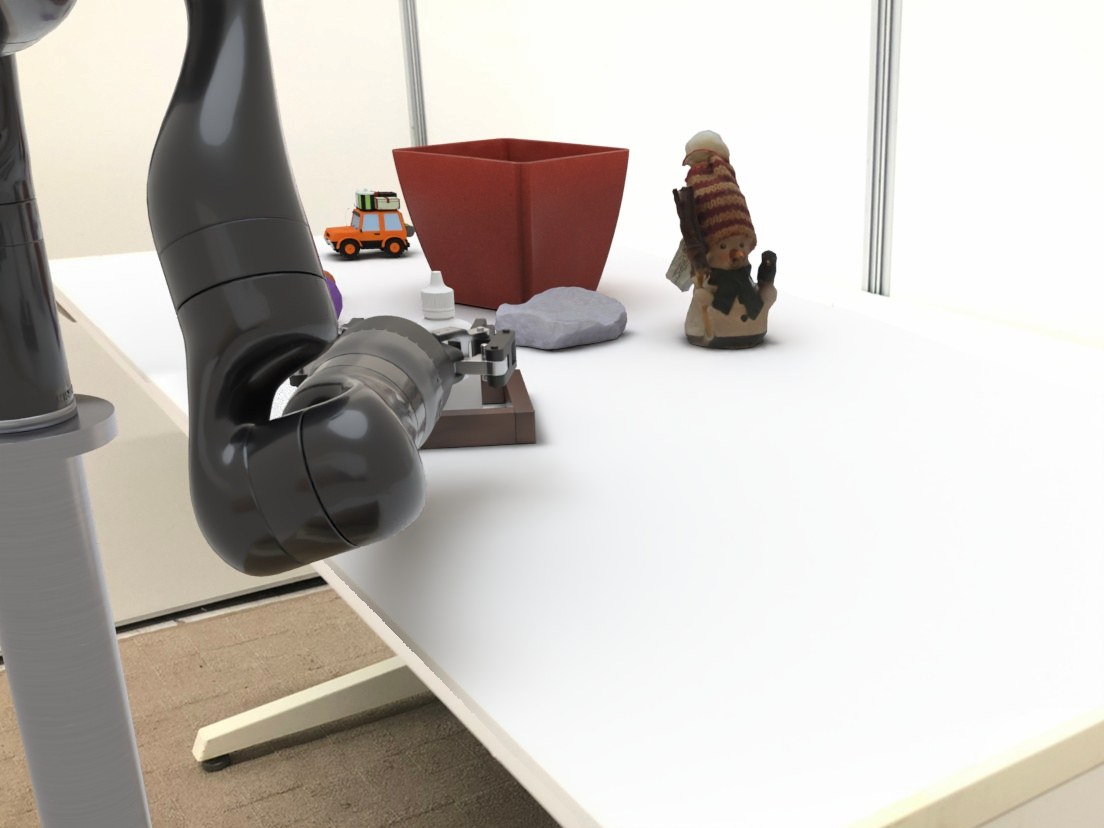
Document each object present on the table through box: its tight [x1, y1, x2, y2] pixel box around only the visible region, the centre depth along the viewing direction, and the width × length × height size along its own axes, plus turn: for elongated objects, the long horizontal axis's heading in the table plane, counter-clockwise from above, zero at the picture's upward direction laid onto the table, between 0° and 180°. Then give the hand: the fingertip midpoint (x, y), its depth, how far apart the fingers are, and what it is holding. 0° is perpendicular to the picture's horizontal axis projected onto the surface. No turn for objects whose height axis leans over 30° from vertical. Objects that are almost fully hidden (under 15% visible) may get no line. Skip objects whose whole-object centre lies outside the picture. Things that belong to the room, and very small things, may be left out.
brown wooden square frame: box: [418, 368, 537, 450], centre depth 101 cm, size 13×13×2 cm
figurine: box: [665, 129, 778, 350], centre depth 127 cm, size 13×12×20 cm
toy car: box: [322, 188, 416, 260], centre depth 170 cm, size 7×12×9 cm, turn 121°
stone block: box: [494, 287, 628, 350], centre depth 129 cm, size 12×5×10 cm
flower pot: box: [391, 137, 630, 311], centre depth 143 cm, size 19×19×17 cm
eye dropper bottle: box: [414, 271, 483, 410], centre depth 99 cm, size 4×6×12 cm
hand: (421, 332), depth 90 cm, fingers open, 8 cm apart
